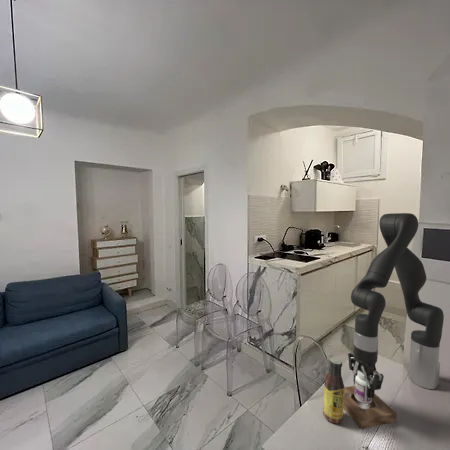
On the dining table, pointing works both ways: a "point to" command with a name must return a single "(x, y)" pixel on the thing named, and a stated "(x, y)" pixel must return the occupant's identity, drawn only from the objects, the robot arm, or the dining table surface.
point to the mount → (367, 410)
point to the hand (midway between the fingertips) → (363, 390)
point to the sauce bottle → (333, 392)
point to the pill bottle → (361, 388)
